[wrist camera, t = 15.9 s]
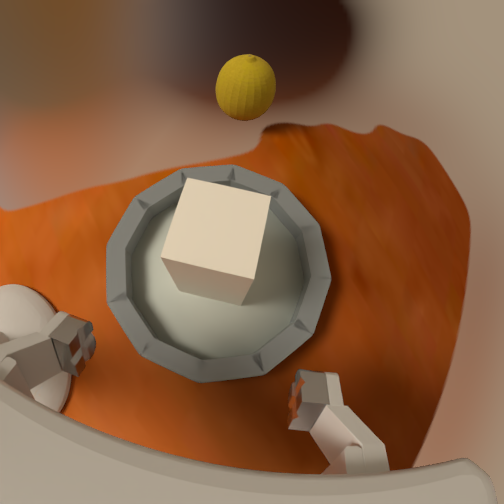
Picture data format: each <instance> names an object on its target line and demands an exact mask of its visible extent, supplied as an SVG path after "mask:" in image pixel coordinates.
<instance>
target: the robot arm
mask: <svg viewBox="0 0 504 504" xmlns="http://www.w3.org/2000/svg"><path fill="white" fill-rule="evenodd" d="M92 330H93V326H92V323H91V322H90V321H87V320H84V319H82V318H79V317H76V316H74V315H71V314H68V313H66V312H63V311H60V312H58V313H57V314H56V315H55V316H54V317H53V318H52V319H51V320H50V321H49V322H48V324H47V325H46V326H45V327H44V328H43V329H42V330H41V331H40V332H39V333H38V332H34V333H31V334H29V335H26V336H23V337H20V338H17V339H14V340H12V341H9V342H6V343H3V344H0V504H498V502H497V498H496V494H495V489H494V486H493V483H492V481H491V478H490V477H489V475H488V474H487V473H485V471H483V470H482V469H481V468H480V467H479V466H477V465H476V464H475V463H474V462H472V461H471V460H469V459H467V458H460V459H456V460H451V461H447V462H442V463H437V464H432V465H427V466H421V467H416V468H409V469H402V470H394V471H390V469H389V464H388V459H387V454H386V449H385V445H384V443H383V442H382V441H381V440H380V439H379V438H378V437H377V436H376V435H375V434H374V433H373V432H372V431H371V430H370V429H369V428H368V427H367V426H366V425H365V424H364V423H363V422H362V421H361V420H360V419H359V417H358V416H357V415H356V414H355V413H354V412H353V411H352V410H351V409H350V408H349V407H348V406H344V403H343V397H342V392H341V386H340V381H339V375H338V374H337V373H331V372H321V371H311V370H302V369H298V371H297V373H296V375H295V382H293V383H292V385H291V387H290V390H289V395H288V407H289V408H290V411H289V414H288V429H293V430H302V431H310V432H309V433H310V434H311V436H312V437H313V439H314V440H315V442H316V443H317V445H318V446H319V448H320V449H321V451H322V452H323V454H324V455H325V457H326V458H327V460H328V461H329V463H330V465H329V466H328V467H327V468H326V469H325V471H324V472H323V473H322V474H293V473H278V472H267V471H258V470H249V469H242V468H235V467H229V466H223V465H217V464H212V463H207V462H202V461H197V460H193V459H188V458H184V457H180V456H176V455H172V454H168V453H165V452H161V451H158V450H154V449H151V448H147V447H144V446H141V445H138V444H135V443H132V442H129V441H126V440H123V439H120V438H118V437H115V436H112V435H109V434H107V433H104V432H102V431H99V430H97V429H94V428H92V427H90V426H87V425H85V424H83V423H80V422H78V421H76V420H74V419H71V418H69V417H67V416H65V415H63V414H61V413H59V412H57V411H55V410H53V409H51V408H49V407H47V406H45V405H43V404H41V403H40V402H38V401H36V400H35V399H34V397H33V395H32V393H31V391H30V390H31V389H32V388H34V387H36V386H38V385H39V384H41V383H43V382H44V381H46V380H48V379H50V378H51V377H53V376H55V375H57V374H58V373H60V372H62V371H65V372H67V373H70V374H72V375H75V376H77V377H79V376H80V374H81V372H82V371H83V369H84V368H85V366H86V365H85V361H87V360H89V359H91V357H92V356H93V354H94V351H95V348H96V341H95V337H94V336H93V334H92V333H91V332H92Z"/></svg>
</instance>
